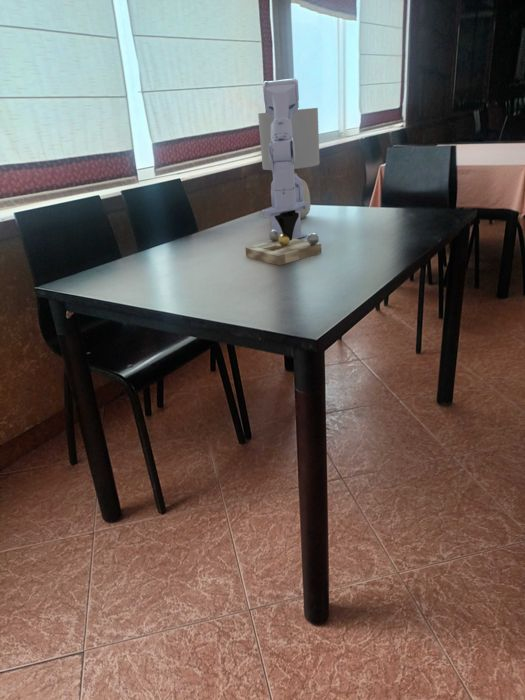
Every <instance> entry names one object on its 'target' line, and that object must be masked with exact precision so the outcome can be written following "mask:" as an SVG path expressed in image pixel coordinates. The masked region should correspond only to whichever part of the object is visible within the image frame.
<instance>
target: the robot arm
mask: <svg viewBox="0 0 525 700" xmlns="http://www.w3.org/2000/svg"><path fill="white" fill-rule="evenodd" d="M262 88H263V89H262V91H263V101H264V102H263V103H264V105H265V111H266V113H268V115H270V116H273V117H274V119H275V120H274V121H273V122H272V123H271V144H269V159H270V163H271V170H270V171H271V173H272V181H271V184H270V200H271V202H270V203H271V207H269V208H267V209H263V210H262V218H263V219H270V223H271V224H270V225H271V231H272V230H278V231H279V232H280V235H282V234H287V235H288V237H289V239H290V240H292V238H295V239H301V238H304V237H308V234H306V233H302V224H301V223H302V221H301V219H300V210H303V209H308V202H304V196H303V184H302V181H301V179H302V178H300V177H299V176H298V177H297V176H296V175H294V172H295V169H294V163H293V161H292V158H293V159H294V162H295V147H294V141H293V137H292V123H291V120H292V115H293V114H295V113H296V112H298V110H299V108H300V107H299V106H300V105H299V101H300V99H299V80H298V79H297V78H296V77H294V78H287V79H277V80H268V81H267V80H265V81H264V82H263V84H262ZM295 185H297V186H295Z"/></svg>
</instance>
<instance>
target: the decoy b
mask: <svg viewBox="0 0 525 700" xmlns="http://www.w3.org/2000/svg"><path fill="white" fill-rule="evenodd" d="M306 241H308V243H309V244H310V245H315V244H317V243H319V241H320V238H319V235H318V234H317V233H315V232H311V233H309V234H307V236H306Z"/></svg>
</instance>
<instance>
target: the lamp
mask: <svg viewBox="0 0 525 700" xmlns="http://www.w3.org/2000/svg"><path fill="white" fill-rule="evenodd" d="M257 114H258V128H259V139H260V142H259V143H260V152H261V162H262V164H261V165H262V170H265V171H266V170H267V171H272V170H271V163H270V159H269V144H271V123H272V122H273V121H274V120H275V119H274V117H273V116H270V115H268V113H267V112H261V113H257ZM291 123H292V137H293V141H294V147H295V162H294V159H293V158H292V161H293V163H294V170H296V169H303V168H304V169H305V168H310V167H317V166H319V165H320V164H321V163H320V139H319V136H320V133H319V131H320V130H319V108H318V107H312V108H311V107H310V108H301V109H299V108H298V112H296V113H295V114H293V115H292V120H291ZM294 175H296V176H297V177H299V175H298V173H297V172H295V171H294ZM300 179H301V181H302V184H303V196H304V202H308V209H303V210H300V219H304V218H305V217H307V216H308V215H309V213H310V210H311V196H310V190H309V189H310V188H309V186H308V184H307V182H306V181H305V180H304V179H303V178H300ZM295 186H297V185H295Z"/></svg>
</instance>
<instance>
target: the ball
mask: <svg viewBox="0 0 525 700" xmlns="http://www.w3.org/2000/svg"><path fill="white" fill-rule="evenodd" d="M278 241H279V243H280V245H282V246H286V245H288V244H289V242H290V239H289V237H288V235H287V234H282V235H280V236H279V239H278Z"/></svg>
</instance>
